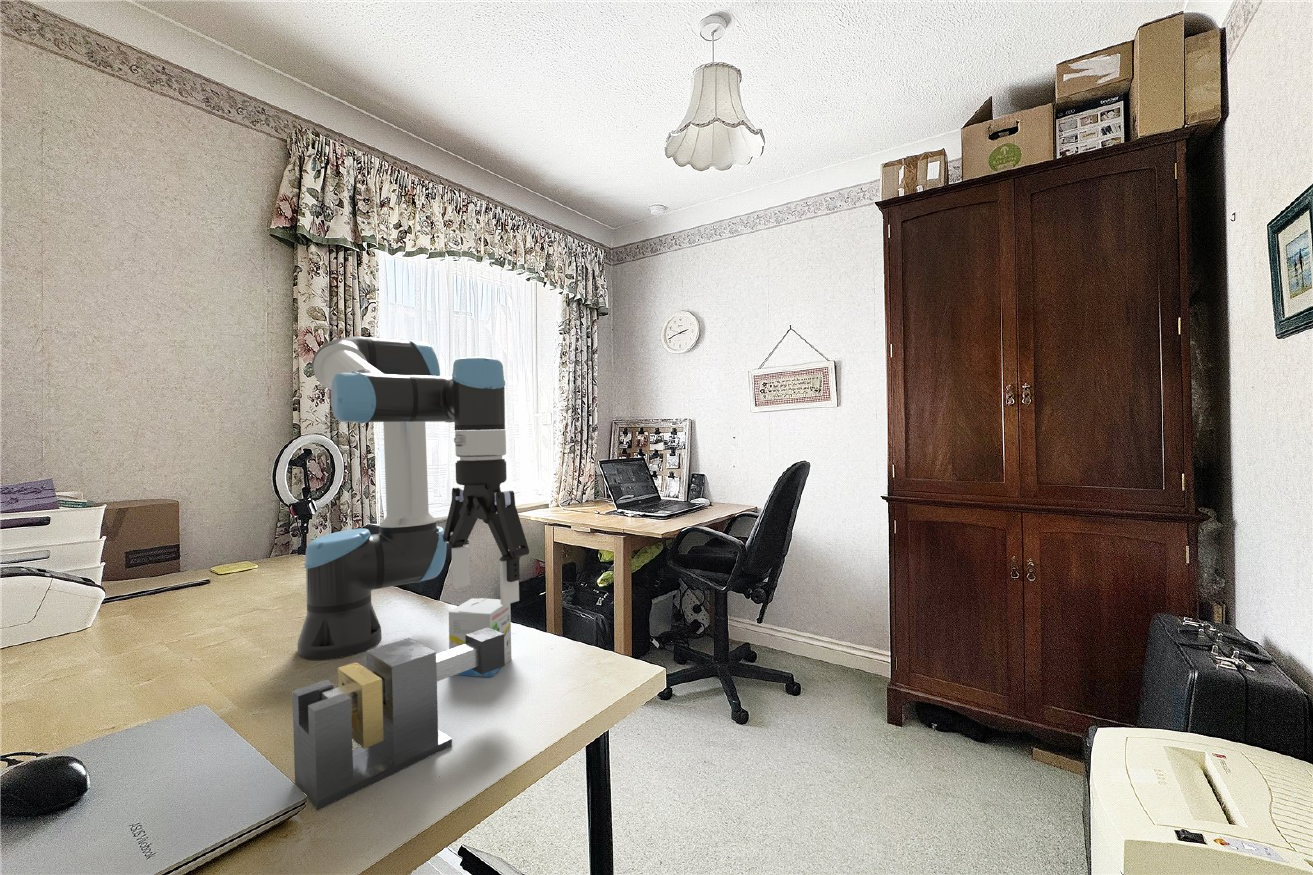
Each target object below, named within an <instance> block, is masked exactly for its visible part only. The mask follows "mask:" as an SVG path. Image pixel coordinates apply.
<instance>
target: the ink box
mask: <svg viewBox="0 0 1313 875" xmlns="http://www.w3.org/2000/svg"><path fill="white" fill-rule="evenodd" d="M485 628H491V629H493V630H496V631H498V632H501V633H503V634H504V655H505V665H506V664H508V662H510V661H511V660H512V629H511V628H512V620H511V603H510V604H506V605H501V599H499V598H498V599H497V598H485V597H482V598H473V597H472V598H469V599H468V600H467V601H465V602H463V603H461V604H459V605H458V606H456V607H454V608H453V609H451V610H449V611H448V650H449V649H452V648H455V647H458V646H461V645H464V644H466V640H465V635H466V634H469V633H472V632H475V631H478V630H481V629H485ZM503 667H504V666H502V667H500V668H497V669H495V670H492V671H490V672H487V673H485V674H480V673H478V672H476V671H474V670H472V669H469V670H466V671H464V672H461V673H458V674H456V675H458V676H466V677H467V676H469V677H470V676H471V677H481V678H484V677H485V678H492V677H493V676H494V675H495V674H496V673H498V671H499V670H501V669H502V668H503Z"/></svg>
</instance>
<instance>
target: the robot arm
mask: <svg viewBox="0 0 1313 875" xmlns="http://www.w3.org/2000/svg"><path fill="white" fill-rule="evenodd" d="M311 361H312V362H311V370H312V372H313V375H314V377H315V378H316V380H317V381H318V382H319V383H320V384H321V385H322V386H323V387H324V388H326V389H328V390H330V396H331V397H330V398H331V399H330V400H331V410H332V413H333V414H332V415H333V417H334V418H335V419H336V420H337V421H339V422H341V423H342V422H343V423H346V422H347V423H357V424H365V423H383V448H384V449H383V450H384V454H383V455H384V474H385V475H384V479H385V481H384V482H385V504H386V505H385V508H386V516H385V518H384V519H383V520H382V521H381V522H380V523H379V525H378V526H379V533H376V534H375V533H374V534H371V532H370V530H369V529H367V528H362V527H361V528H354V529H352V528H351V529H345V530H341V531H336V532H333V533H329V534H324V535H321V536H319V537H317V538H315V539H313V540H311V541H310V542H309V543H308V544H307V546H306V549H305V561H304V562H305V563H304V564H303V565H304V569H305V574H306V575H305V577H306V578H305V579H306V580H305V581H306V582H305V583H306V586H305V587H306V616H305V619H304V621H303V623H302V624H303V625H302V628H301V630H300V635H299V636H298V641H297V655H298V656H299V658H302V659H305V660H313V661H317V660H318V661H321V660H322V661H323V660H332V659H333V660H334V659H340V658H345V657H349V656H352V655H356V654H359V653H363V652H365V651H368V650H371V649H373V648H374V647H375V646H376V645H378V644H379V643H380V642H381V640H382V638H383V637H382V626H381V622H379V619H378V616H377V614H376V612H375V609H374V607H373V604H372V591H374V590H379V589H384V588H390V587H395V586H396V587H397V586H402V585H407V584H414V583H416V584H419V583H421V582H425V581H428V580H433V579H435V578H437V577H438V576H439V575H440V573H441V572H442V570H443V568H444V565H445V563H446V562H445V561H446V557H447V543H448V547H449V548H451V576H452V577H451V578H452V579H451V580H452V581H451V582H452V583H451V584H452V589H453V590H457V589H462V588H465V587H469V586H471V570H470V565H471V564H470V561H471V560H470V542H469V538H470V535H471V534H472V532H473V529H474V527H475V525H476V523H477V521H478V519H479V520H482V521H483V523H484V524H487V525H488V527H489V530H490V531H491V532H490V533H491V534H492V537H493V539H494V542H495V543H496V545H497V547H498V549H499V551H500V554H501V555H502V556H500V558H499V588H500V589H499V594H500V595H499V596H500V600H501V605H506V604H510V605H511V604H513V603H516V602H519V601H520V585H519V584H520V583H519V582H520V574H521V573H520V558H521V557H524V556H526V555H529V553H530V549H529V545H528V542H527V537H526V536H525V532H524V529H523V526H522V523H521V519H520V515H519V513H518V509H517V506H516V497H515V496H516V495H515V492H514V491H513V490H506V491H501V485H502V483H505V482H506V481H507V460H506V459H505V458H503V456H506V454H507V440H506V438H507V437H506V435H507V434H506V407H505V406H506V403H505V402H506V400H505V396H506V395H505V386H506V380H505V376H504V375H505V372H504V365H503V362H502V361H500V359H496V358H492V357H482V356H472V357H467V356H465V357H460V358H457V359H455V360H454V362H453V363H452V364H453V367H452V374H451V376H441V371H440V370H441V369H440V364H439V360H438V357H437V355H436V352H435V351H434V349H433V347H432V346H431V345H430V344H428V343H427V342H424V341H417V340H416V341H415V340H411V339H398V338H396V339H395V338H385V337H384V338H381V337H380V338H379V337H368V336H367V337H365V336H356V335H355V336H346V337H341V338H340V337H339V338H337V339H334V340H331V341H328V342H326V343H325V344H323V345H321V346H320V347H319V348H318V349H317V350H316V352H315V354H314V355H313V357H312V360H311ZM426 422H428V423H434V422H435V423H436V422H437V423H439V422H441V423H442V422H445V423H454V431H455V432H454V438H453V442H454V444H455V450H454V451H455V456H456V457H458V458H459V460H456V462H455V483H456V484H457V485H458V486H457V487H452V488H451V501H450V506H449V511H448V516H447V518H446V521H445V522H446V523H445V526H444V528H443V527H442V526H439V525H437V520H436V518H435V517H433V515H431V514H430V510H429V488H428V486H429V485H428V459H427V458H428V457H427V434H426V432H427V431H426V430H427V429H426ZM459 485H460V486H459Z"/></svg>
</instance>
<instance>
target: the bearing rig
mask: <svg viewBox="0 0 1313 875" xmlns="http://www.w3.org/2000/svg"><path fill="white" fill-rule="evenodd" d="M365 651H366V652H365V653H366V654H365V655H366V668H367V669H368V670H370V671H371V672H373V673H374V674H379V675H380V676H382V677H383V678H385V698H386V701H385V702H382V703H383V741H381V742H379V743H376V744H374V745H372V746H369V747H367V748H365V749H363V748H362V747H361V746H359V747H357V748H354V749H353V739H352V713H351V698H350V697H349V696H348V695H346V694H345V693H342V694H339V695H337V696H334V697H331V698H328V699H325V700H322V692H325V691H328V690H331V689H334V683H332V681H330V680H329V679H325V680H321V681H319V682H315V683H313V684H308V685H305V686H303V687H300V688H296V689H294V690H292V692H291V694H292V723H293V724H292V726H293V727H292V728H293V729H292V730H293V756H294V757H293V758H294V759H293V760H294V762H293V764H294V783H295V784H296V786H297V787H298V788H299V789H300V790H302V791H301V792H302V793H303V792H304V793H305V794H306V795H307V797H306V798H307V799H308V801H309V802H310V804H312V805H313V807H314V809H315V810H316V811H320V810H321V809H324V808H325V807H328V806H330V805H332V804H334V803H336V802H338V801H340V800H342V799H344V798H346V797H349V796H351V795H352V794H355V793H356V792H358V791H361V790H363V789H365V788H367V787H369V786H371V785H373V784H375V783H378V782H379V781H382V780H384V779H385V778H388V777H390V776H392V775H394V774H396V773H399V772H400V771H402V770H404V769H407V768H408V767H410V766H414V765H415V764H416V763H418V762H421V761H423V760H425V759H427V758H430V757H431V756H434V755H436V754H438V753H440V752H443V750H446V749H448V748H450V747H452V746H453V739H452V737H451V736H448V735H447V734H446V733H444V732H443V731H442V730H440V729H439V721H438V720H439V719H438V718H439V717H438V716H439V714H438V713H439V712H438V681H437V666H436V654H437V651H436V650H434V649H431V648H429V647H428V646H425V645H424V644H422V643H420V642H418V641H416V640H413V639H412V638H411V637H408V638H405V639H401V640H398V641H395V642H392V643H388V644H385V645H381V646H379V647H375V648H374V647H373V648H370V649H367V650H365ZM304 793H303V794H304ZM305 794H304V795H305Z"/></svg>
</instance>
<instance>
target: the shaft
mask: <svg viewBox="0 0 1313 875" xmlns="http://www.w3.org/2000/svg"><path fill="white" fill-rule="evenodd" d="M465 640H466V644H464V645H461V646H458V647H455V648H452V649H449V648H448V649H447V650H444V651H441V652H438V653H436V666H437V682H440V681H442V680H445V679H448V678H450V677H452V676H455V675H456V674H458V673H461V672H464V671H466V670H469V669H472V670H474V671H476V672H478V673H480V674H485V673H487V672H490V671H492V670H495V669H497V668H500V667H502V666H503V667H505V665H506V664H505V655H504V634H503V633H501V632H498V631H496V630H493V629H491V628H485V629H481V630H478V631H475V632H472V633H469V634H466V635H465ZM503 667H502V668H503ZM376 675H377V676H379V677H380V678H382V702H385V701H386V698H385V678H383V677H382V676H380V675H379V674H376ZM342 693H345V694H346V695H348V696H349V697H350V698H351V713H352V714H353V713H356V712H358V694H357V693H356V692H354V691H353V690H352V689H350V688H349V687H348V686H347V685H343V686H340V687H338V686H337V687H333V689H331V690H328V691H325V692H322V700H325V699H328V698H331V697H334V696H337V695H339V694H342Z"/></svg>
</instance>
